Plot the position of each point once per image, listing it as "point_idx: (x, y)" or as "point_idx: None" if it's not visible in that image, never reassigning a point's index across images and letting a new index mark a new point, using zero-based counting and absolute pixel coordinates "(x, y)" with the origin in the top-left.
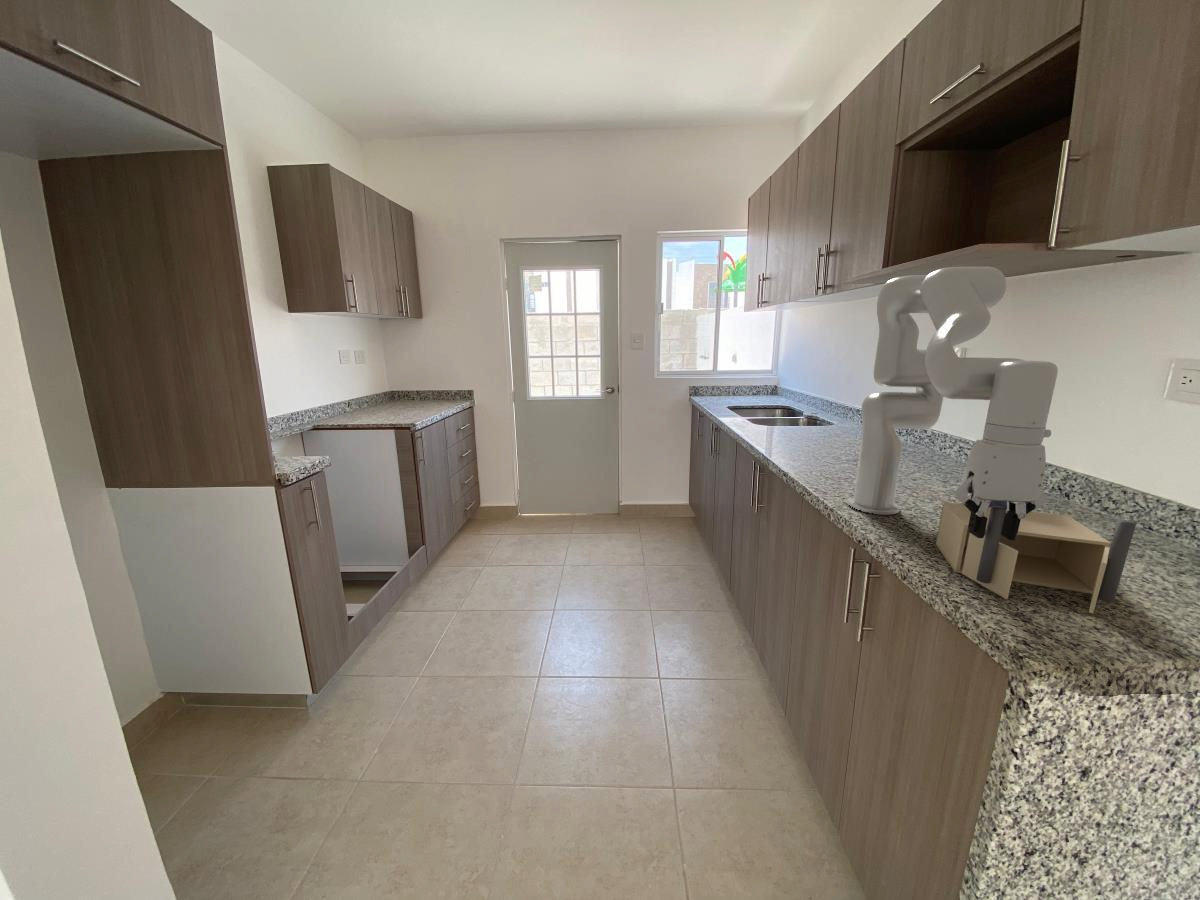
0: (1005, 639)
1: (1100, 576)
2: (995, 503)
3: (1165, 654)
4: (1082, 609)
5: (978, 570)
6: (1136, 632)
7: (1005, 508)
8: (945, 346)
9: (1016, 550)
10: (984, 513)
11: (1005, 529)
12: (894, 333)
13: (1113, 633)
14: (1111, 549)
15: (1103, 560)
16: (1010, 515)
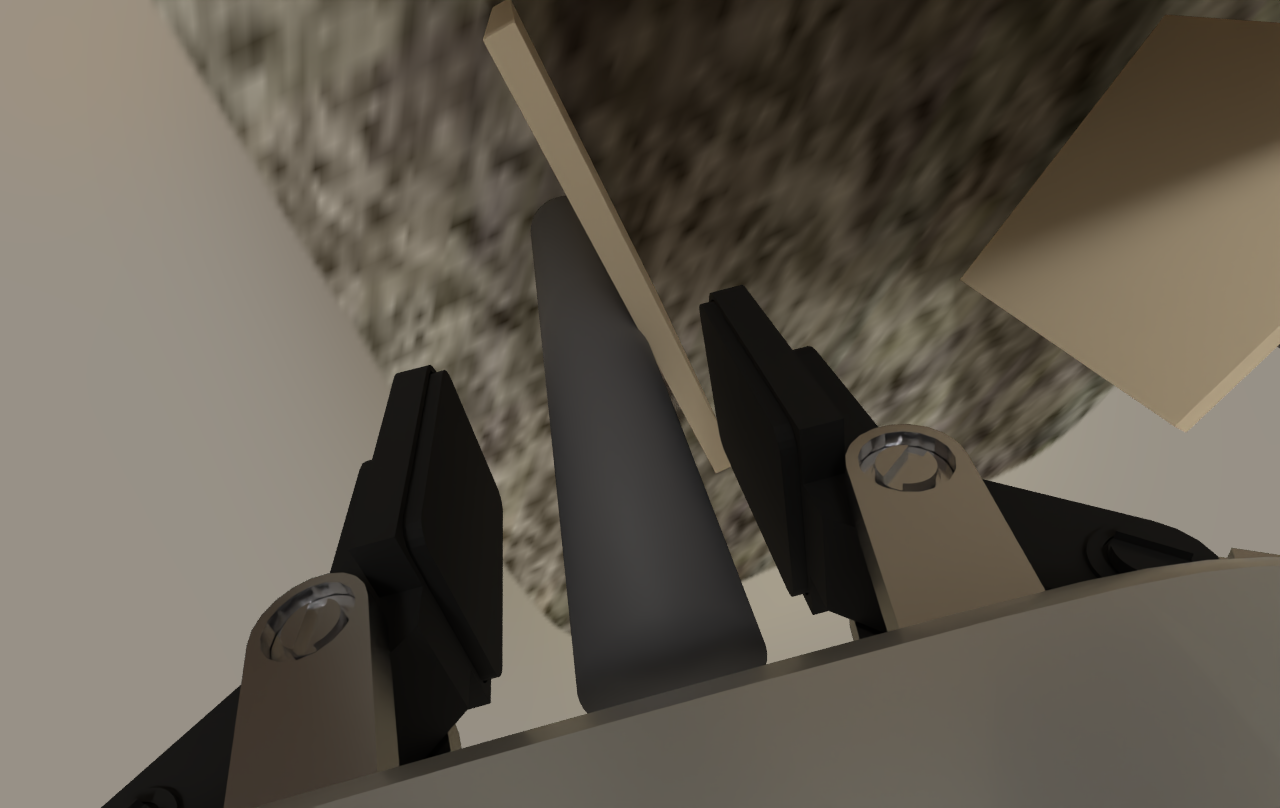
0: (534, 585)
1: (1103, 377)
2: None
3: (992, 460)
4: (968, 223)
5: (533, 255)
6: (1027, 349)
7: (761, 663)
8: None
9: (727, 460)
10: (454, 746)
11: (731, 415)
12: None
13: (933, 393)
14: None
15: (1212, 393)
16: (811, 546)
